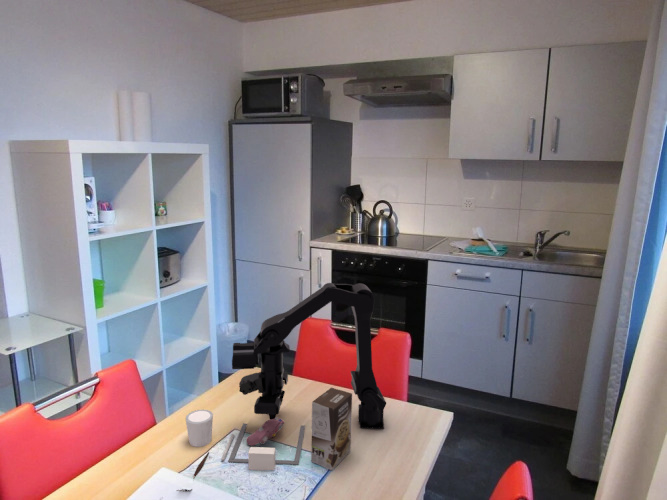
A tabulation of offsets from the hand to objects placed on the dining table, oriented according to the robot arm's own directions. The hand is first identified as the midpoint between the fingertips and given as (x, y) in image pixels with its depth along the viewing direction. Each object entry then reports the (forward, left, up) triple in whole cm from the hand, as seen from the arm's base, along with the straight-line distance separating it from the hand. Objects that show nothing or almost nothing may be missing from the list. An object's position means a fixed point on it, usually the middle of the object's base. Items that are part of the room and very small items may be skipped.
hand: (272, 420), depth 129 cm
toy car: (+1, +5, -3) cm, 6 cm away
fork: (+15, +19, -3) cm, 25 cm away
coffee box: (-17, +11, -3) cm, 20 cm away
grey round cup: (+18, +6, -3) cm, 19 cm away
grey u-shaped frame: (+1, +8, -3) cm, 8 cm away
